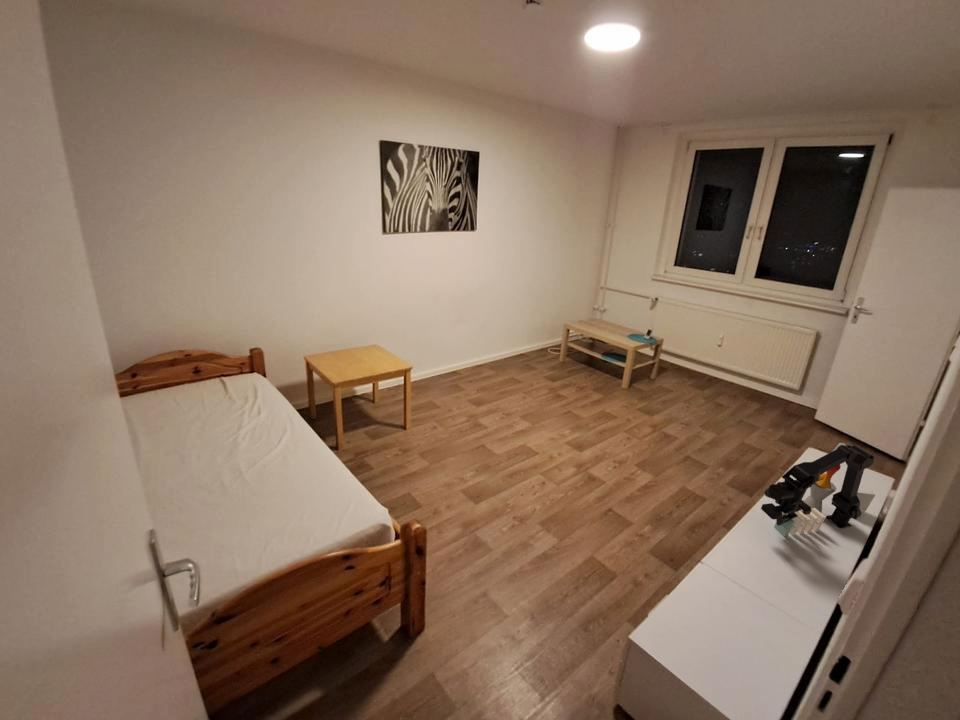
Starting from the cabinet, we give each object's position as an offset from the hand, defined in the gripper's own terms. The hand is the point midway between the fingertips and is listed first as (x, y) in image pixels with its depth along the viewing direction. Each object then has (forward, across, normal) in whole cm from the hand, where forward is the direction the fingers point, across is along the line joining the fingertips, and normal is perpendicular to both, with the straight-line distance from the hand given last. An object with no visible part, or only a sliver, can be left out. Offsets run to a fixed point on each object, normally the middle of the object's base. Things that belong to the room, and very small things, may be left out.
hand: (778, 524), depth 174 cm
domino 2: (+4, -7, 0) cm, 8 cm away
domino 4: (+4, -15, 0) cm, 16 cm away
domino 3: (+4, -11, 0) cm, 12 cm away
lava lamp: (+5, -27, -8) cm, 29 cm away
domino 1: (+4, -3, 0) cm, 5 cm away
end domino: (+4, -19, 0) cm, 20 cm away
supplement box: (+5, -46, -6) cm, 47 cm away
